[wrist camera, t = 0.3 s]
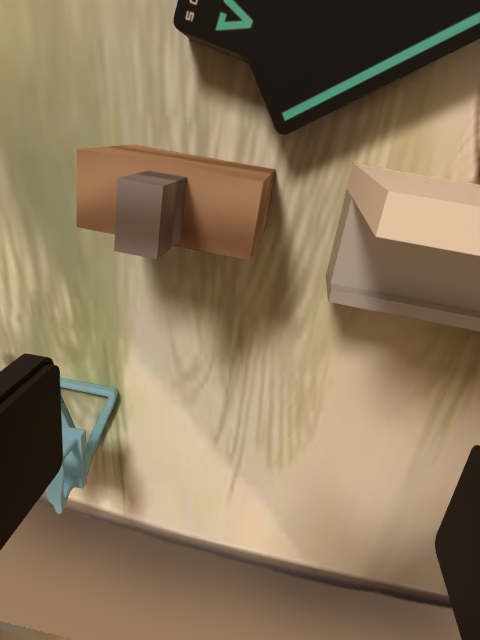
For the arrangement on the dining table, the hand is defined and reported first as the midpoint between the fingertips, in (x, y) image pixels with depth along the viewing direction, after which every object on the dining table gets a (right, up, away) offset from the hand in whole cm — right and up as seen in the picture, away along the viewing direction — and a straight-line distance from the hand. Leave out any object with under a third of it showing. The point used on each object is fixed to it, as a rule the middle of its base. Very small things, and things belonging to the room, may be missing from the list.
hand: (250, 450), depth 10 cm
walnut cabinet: (-4, +14, +28) cm, 32 cm away
